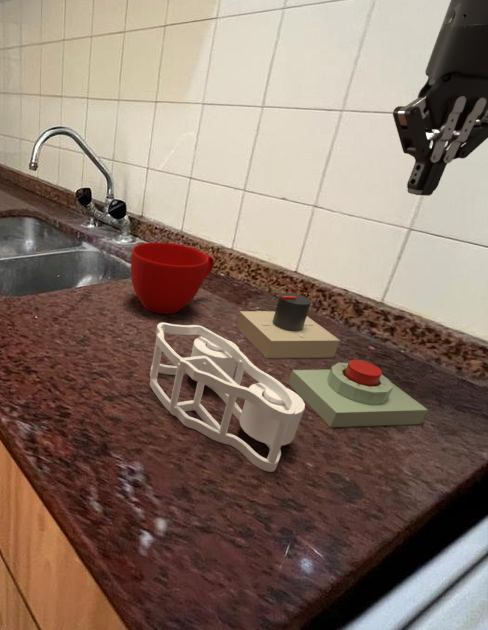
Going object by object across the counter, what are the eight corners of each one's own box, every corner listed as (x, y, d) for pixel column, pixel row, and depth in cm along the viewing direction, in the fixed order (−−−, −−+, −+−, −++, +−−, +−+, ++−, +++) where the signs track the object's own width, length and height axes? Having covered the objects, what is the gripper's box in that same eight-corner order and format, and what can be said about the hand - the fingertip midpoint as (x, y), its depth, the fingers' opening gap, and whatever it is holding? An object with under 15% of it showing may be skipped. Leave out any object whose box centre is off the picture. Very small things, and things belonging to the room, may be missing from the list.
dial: (293, 318, 73) (301, 291, 71) (308, 331, 69) (318, 302, 67) (267, 318, 72) (275, 290, 70) (281, 331, 68) (290, 302, 66)
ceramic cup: (229, 312, 81) (242, 259, 76) (154, 327, 73) (163, 269, 69) (182, 286, 91) (191, 238, 87) (111, 297, 84) (117, 245, 79)
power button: (363, 371, 58) (367, 359, 57) (384, 387, 55) (389, 375, 54) (337, 371, 57) (342, 359, 56) (357, 388, 54) (362, 375, 53)
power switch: (367, 382, 62) (377, 357, 61) (420, 424, 54) (434, 397, 53) (287, 383, 61) (296, 358, 59) (330, 427, 53) (341, 399, 51)
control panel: (295, 327, 77) (301, 310, 76) (333, 357, 68) (340, 339, 67) (235, 327, 75) (239, 310, 74) (266, 358, 66) (271, 339, 65)
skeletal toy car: (312, 463, 47) (335, 406, 44) (221, 482, 44) (238, 422, 41) (207, 363, 64) (218, 317, 61) (136, 371, 61) (144, 323, 58)
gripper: (462, 15, 43) (393, 198, 50) (577, 27, 45) (495, 203, 52) (400, 25, 50) (348, 186, 57) (503, 36, 51) (439, 190, 59)
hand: (418, 194), depth 55 cm, fingers closed
